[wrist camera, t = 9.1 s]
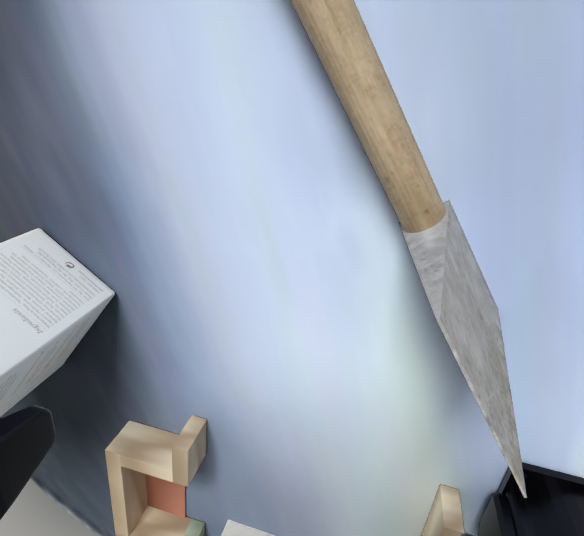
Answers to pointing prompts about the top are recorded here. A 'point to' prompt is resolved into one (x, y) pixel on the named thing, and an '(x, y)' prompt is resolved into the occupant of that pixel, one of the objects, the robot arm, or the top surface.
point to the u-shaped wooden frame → (179, 473)
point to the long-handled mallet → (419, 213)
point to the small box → (41, 311)
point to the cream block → (241, 530)
